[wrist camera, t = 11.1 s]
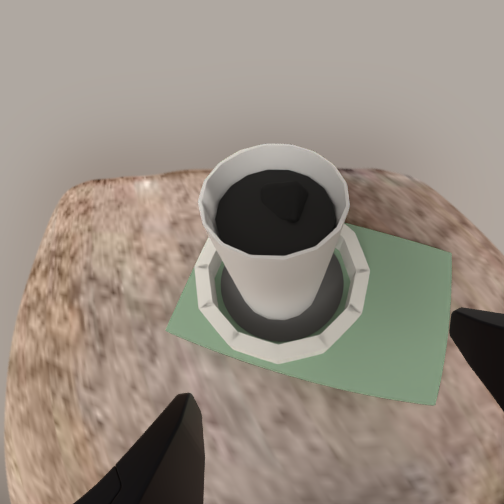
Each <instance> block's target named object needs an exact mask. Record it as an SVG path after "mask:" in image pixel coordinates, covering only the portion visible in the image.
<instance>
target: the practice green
mask: <svg viewBox="0 0 504 504" xmlns="http://www.w3.org/2000/svg"><path fill="white" fill-rule="evenodd" d="M451 282H452V255H451V253H450V252H447V251H443V250H440V249H437V248H434V247H430V246H427V245H424V244H420V243H417V242H414V241H410V240H407V239H403V238H400V237H396V236H393V235H389V234H385V233H382V232H378V231H374V230H371V229H367V228H363V227H359V226H356V225H352V224H348V223H344V225H343V228H342V230H341V233H340V236H339V239H338V241H337V244H336V247H335V249H334V252H333V255H332V257H331V260H330V262H329V265H328V267H327V270H326V273H325V275H324V278H323V280H322V282H321V285H320V287H319V290H318V292H317V294H316V297H315V299H314V301H313V303H312V305H311V306H310V307H309V308H307V309H306V310H305V311H304V312H303V313H302V314H300V315H299V316H296V317H293V318H290V319H287V320H273V319H267V318H265V317H263V316H261V315H259V314H257V313H255V312H254V311H253V310H252V309H251V308H250V307H249V306H248V304H247V303H246V302H245V301H244V299H243V297H242V295H241V294H240V292H239V290H238V288H237V286H236V285H235V283H234V281H233V279H232V278H231V276H230V274H229V272H228V270H227V268H226V267H225V265H224V263H223V261H222V259H221V258H220V256H219V254H218V252H217V250H216V248H215V247H214V245H213V243H212V241H211V239H210V237H208V239H207V241H206V243H205V245H204V247H203V249H202V252H201V254H200V256H199V258H198V260H197V262H196V264H195V266H194V268H193V271H192V273H191V275H190V277H189V279H188V281H187V283H186V286H185V288H184V290H183V292H182V294H181V297H180V299H179V301H178V303H177V305H176V308H175V310H174V312H173V314H172V317H171V319H170V321H169V323H168V326H167V328H166V330H165V331H167V332H169V333H171V334H173V335H176V336H178V337H181V338H183V339H185V340H188V341H190V342H193V343H195V344H198V345H200V346H203V347H205V348H208V349H211V350H213V351H216V352H219V353H221V354H224V355H227V356H230V357H232V358H235V359H238V360H241V361H244V362H247V363H250V364H253V365H256V366H259V367H262V368H265V369H268V370H272V371H275V372H278V373H281V374H285V375H288V376H292V377H295V378H299V379H302V380H306V381H310V382H313V383H317V384H321V385H325V386H329V387H333V388H337V389H342V390H346V391H350V392H355V393H360V394H364V395H369V396H375V397H380V398H385V399H391V400H397V401H403V402H410V403H417V404H424V405H435V404H436V400H437V395H438V391H439V386H440V381H441V376H442V371H443V365H444V359H445V353H446V346H447V338H448V329H449V318H450V305H451Z"/></svg>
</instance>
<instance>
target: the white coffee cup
mask: <svg viewBox="0 0 504 504" xmlns="http://www.w3.org/2000/svg"><path fill="white" fill-rule="evenodd" d="M198 205H199V210H200V214H201V219H202V223H203V226H204V228H205V230H206V232H207V234H208V235H209V237H210V239H211V241H212V243H213V245H214V247H215V248H216V250H217V252H218V254H219V256H220V258H221V259H222V261H223V263H224V265H225V267H226V268H227V270H228V272H229V274H230V276H231V278H232V279H233V281H234V283H235V285H236V286H237V288H238V290H239V292H240V294H241V295H242V297H243V299H244V301H245V302H246V303H247V304H248V306H249V307H250V308H251V309H252V310H253V311H254V312H255V313H257V314H259V315H261V316H263V317H265V318H267V319H273V320H287V319H290V318H293V317H296V316H299V315H300V314H302V313H303V312H304V311H305V310H306V309H307V308H309V307H310V306H311V305H312V303H313V301H314V299H315V297H316V294H317V292H318V290H319V287H320V285H321V282H322V280H323V278H324V275H325V273H326V270H327V267H328V265H329V262H330V260H331V257H332V255H333V252H334V249H335V247H336V244H337V241H338V239H339V236H340V233H341V230H342V228H343V225H344V222H345V219H346V216H347V214H348V211H349V208H350V203H349V195H348V187H347V183H346V181H345V180H344V178H343V177H342V175H341V174H340V172H339V171H338V169H337V168H336V166H335V165H334V164H332V163H331V162H330V161H328V160H327V159H325V158H324V157H322V156H321V155H319V154H318V153H316V152H315V151H312V150H309V149H305V148H302V147H298V146H295V145H292V144H262V145H258V146H254V147H250V148H247V149H243V150H240V151H238V152H236V153H235V154H233V155H231V156H229V157H228V158H226V159H224V160H223V161H221V162H220V163H219V164H218V165H217V166H216V167H215V168H214V169H213V171H212V172H211V173H210V174H209V175H208V176H207V178H206V179H205V180H204V183H203V186H202V189H201V193H200V196H199V200H198Z"/></svg>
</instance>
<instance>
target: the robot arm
mask: <svg viewBox="0 0 504 504" xmlns="http://www.w3.org/2000/svg"><path fill="white" fill-rule="evenodd" d="M449 333H450V336H451V338H452V340H453V341H454V343H455V344H456V346H457V347H458V349H459V350H460V352H461V353H462V355H463V356H464V358H465V359H466V361H467V362H468V364H469V365H470V367H471V368H472V370H473V371H474V372H475V373H476V375H477V376H478V377H479V379H480V380H481V381H482V382H483V384H484V385H485V386H486V388H487V389H488V390H489V392H490V393H491V395H492V396H493V397H494V399H495V400H496V401H497V403H498V404H499V406H500V407H501V408H502V410H503V411H504V314H501V313H494V312H488V311H482V310H475V309H469V308H463V307H461V308H459V309H457V310H455V311H453V312H452V314H451V322H450V330H449ZM115 466H116V467H115ZM115 466H114V467H113V468H112V469H111V470H110V471H109V472H108V473H107V474H106V475H105V476H104V477H103V478H102V479H101V480H100V481H99V482H98V483H97V484H96V485H95V486H94V487H93V488H92V489H90V490H89V491H88V492H87V493H86V494H85V495H83V496H82V497H81V498H80V499H79V500H77V501H76V502H75V503H74V504H203V496H204V468H205V451H204V439H203V426H202V415H201V411H200V409H199V407H198V405H197V403H196V401H195V399H194V397H193V395H192V394H191V393H183V394H178V395H177V396H176V397H175V398H174V399H173V400H172V402H171V403H170V404H169V405H168V406H167V407H166V408H165V410H164V411H163V412H162V413H161V414H160V415H159V417H158V418H157V419H156V420H155V421H154V422H153V423H152V425H151V426H150V427H149V428H148V429H147V430H146V431H145V433H144V434H143V435H142V436H141V437H140V438H139V439H138V440H137V442H136V443H135V444H134V445H133V446H132V447H131V448H130V449H129V450H128V452H127V453H126V454H125V455H124V456H123V457H122V458H121V459H120V460H119V461H118V462H117V464H116V465H115Z"/></svg>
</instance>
